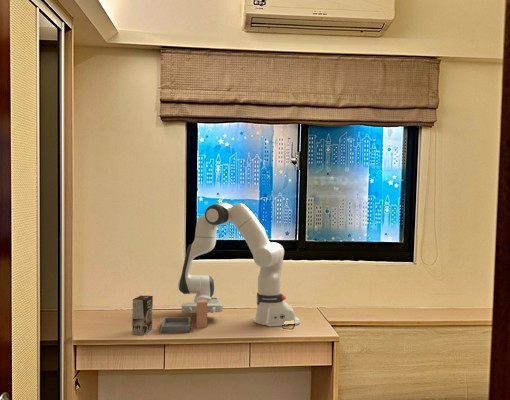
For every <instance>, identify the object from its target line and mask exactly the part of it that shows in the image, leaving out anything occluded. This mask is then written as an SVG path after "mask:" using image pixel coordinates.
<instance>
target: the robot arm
mask: <svg viewBox="0 0 510 400" xmlns="http://www.w3.org/2000/svg"><path fill="white" fill-rule="evenodd" d="M228 223H232V224H233V226H235V228H236V230H237V231H238V232H239V234H240V235H241V236H242V238H243V239H244V240H245V242H246V244H247V246H248V248H249V250H250V253H251V254H252V257H253V262H254V263H255V265H256V266H258V267H260V270H259V273H258V277H257V293H256V312H255V317H254V320H253V322H254V323H255V324H258V325H262V326H267V327H281V326H282V325H283V324H284V322H285V321H289V320H294V321H295V322H294V324H295V325H294V326H296V325H299V324H300V321H301V320H300V319H299V318H298V317H297V316H296V313H295V310H294V308H293V307H292V306H291V305H290V304H289V303H287V302H286V301H285V300H286V298H287V297H286V296H285V294H283V293H281V275H282V268H283V263H284V262H283V261H284V256H285V249H284V247H283V245H282V244H280V243H278V242H273V241H272V242H271V241H270V240H269V238H268V235H267V233H266V230H265V228H264V226H263V225H262V224H261V222H260V221H259V219H258V218H257V217H256V215H255V214H254V213H253V212H252V211H251V210H250V209H249V208H248V207H247V205H245V204H244V203H235V204H232V203H231V202H217V203H214V204H213V203H212V204H210V205H209V206H208V207H207V208H206V209H205V211H204V214H201V215H200V216H198V218H197V221H196V226H195V230H194V231H195V234H194V240H193V242H192V243H191V244H189V245H188V247H187V250H186V254H185V257H184V260H183V261H184V262H183V266H182V270H181V274H180V277H179V280H178V284H177V286H178V290H179V291H180V293H182V294H183V295H191V294H194V295H195V296H194V299H193V302H191V301H190V302H183V304H181V313H184V314H186V313H188V314H189V313H191V314H194V313H195V314H197V300H207V314H209V313H210V314H214V313H222V312H223V309H224V307H223V303H222V301H220V298H217V297H213V296H214V293H215V282H214V281H215V280H214V279H213V277H212V276H211V275H209V274H208V275H207V274H206V275H205V274H204V275H203V274H200V275H199V274H198V275H197V274H191V273H190V272H191V268H192V264H193V261H194V259H195V258H196V257H199V256H201V255H204V254H207V253H210V252H211V251H212V250H214V248H215V246H216V243H217V229H218V226H220V225H226V224H228Z"/></svg>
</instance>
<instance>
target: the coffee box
mask: <svg viewBox="0 0 510 400" xmlns="http://www.w3.org/2000/svg"><path fill="white" fill-rule="evenodd" d="M153 297H154V296H153V295H139V296H136V297H135V298H133V299H132V321H131V322H132V331H131V334H132V335H137V336H139V335H140V336H146V335H147V334H148V333H150V332H152V331H153V328H154V327H153V324H154V323H153V319H154V318H153V316H154V315H153V314H154V313H153V305H154V304H153V301H154V300H153V299H154V298H153Z"/></svg>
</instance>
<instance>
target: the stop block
mask: <svg viewBox="0 0 510 400" xmlns="http://www.w3.org/2000/svg"><path fill="white" fill-rule="evenodd" d="M196 328H208V313H207V300H197V313H196Z"/></svg>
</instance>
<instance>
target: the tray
mask: <svg viewBox="0 0 510 400" xmlns="http://www.w3.org/2000/svg"><path fill="white" fill-rule="evenodd" d="M191 318H192V317H190V316H176V317H175V316H173V317H171V316H169V317H167V316H165V317H163V319H162V323H161V325H160V334H185V333H187V334H188V333H189V334H190V333H191V332H190V331H191V324H192V322H191Z"/></svg>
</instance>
